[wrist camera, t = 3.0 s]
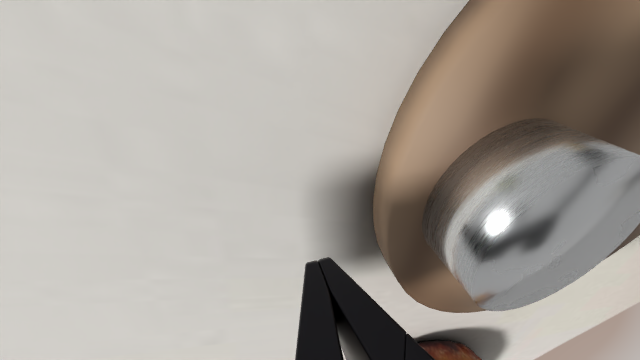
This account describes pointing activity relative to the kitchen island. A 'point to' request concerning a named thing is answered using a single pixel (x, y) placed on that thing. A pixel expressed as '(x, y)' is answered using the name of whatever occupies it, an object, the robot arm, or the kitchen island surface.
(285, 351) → the kitchen island surface
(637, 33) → the disc
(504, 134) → the cover
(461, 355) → the bread
